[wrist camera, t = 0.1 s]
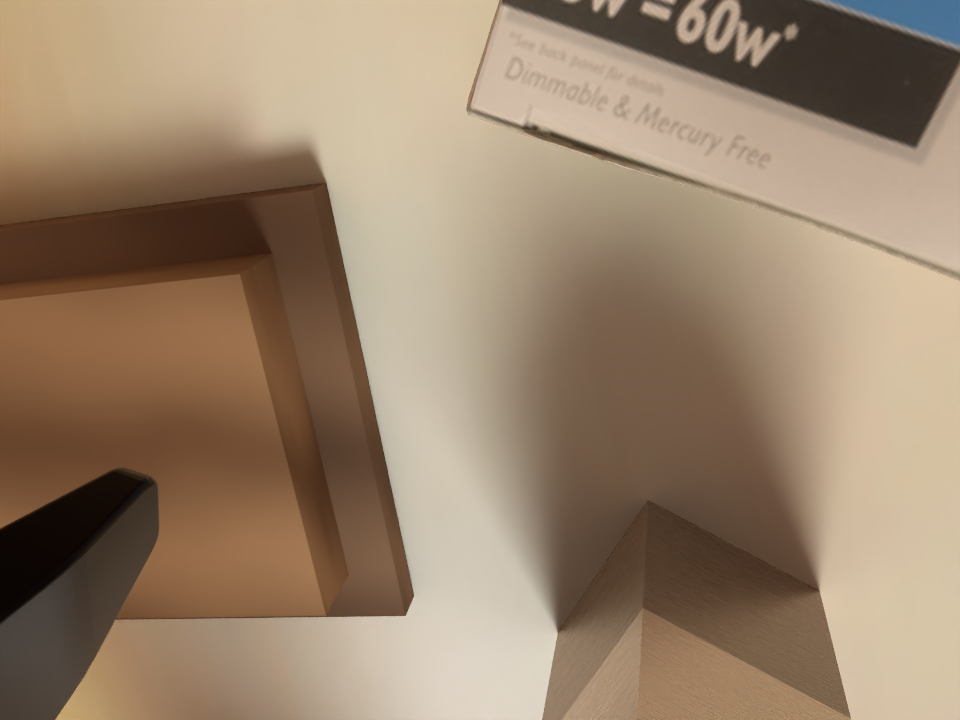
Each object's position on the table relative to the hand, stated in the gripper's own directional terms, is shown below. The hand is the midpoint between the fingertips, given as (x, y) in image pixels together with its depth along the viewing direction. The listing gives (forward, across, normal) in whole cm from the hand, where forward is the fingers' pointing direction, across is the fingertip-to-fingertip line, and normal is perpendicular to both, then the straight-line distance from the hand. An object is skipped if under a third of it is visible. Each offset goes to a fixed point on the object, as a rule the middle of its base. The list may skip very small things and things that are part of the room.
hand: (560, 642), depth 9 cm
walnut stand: (+13, +11, +13) cm, 21 cm away
